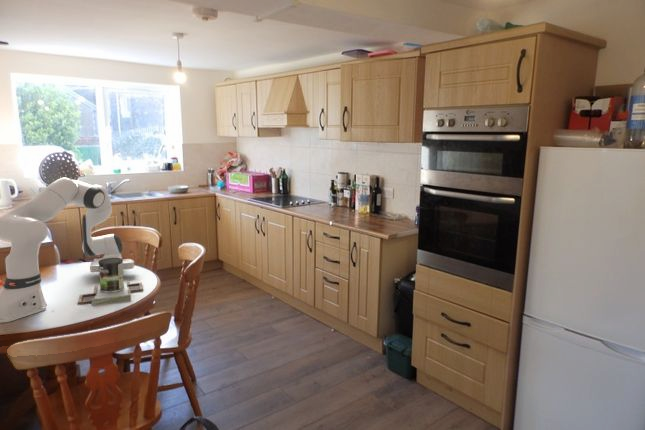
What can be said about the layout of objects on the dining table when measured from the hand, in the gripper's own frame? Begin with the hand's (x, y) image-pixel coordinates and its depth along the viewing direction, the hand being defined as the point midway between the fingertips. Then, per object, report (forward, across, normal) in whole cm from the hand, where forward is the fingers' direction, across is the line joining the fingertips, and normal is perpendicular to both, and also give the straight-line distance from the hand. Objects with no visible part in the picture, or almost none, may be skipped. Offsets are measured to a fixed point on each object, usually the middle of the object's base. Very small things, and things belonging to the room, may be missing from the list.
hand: (112, 270), depth 213 cm
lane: (+19, 0, -6) cm, 20 cm away
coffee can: (+11, 0, -6) cm, 13 cm away
